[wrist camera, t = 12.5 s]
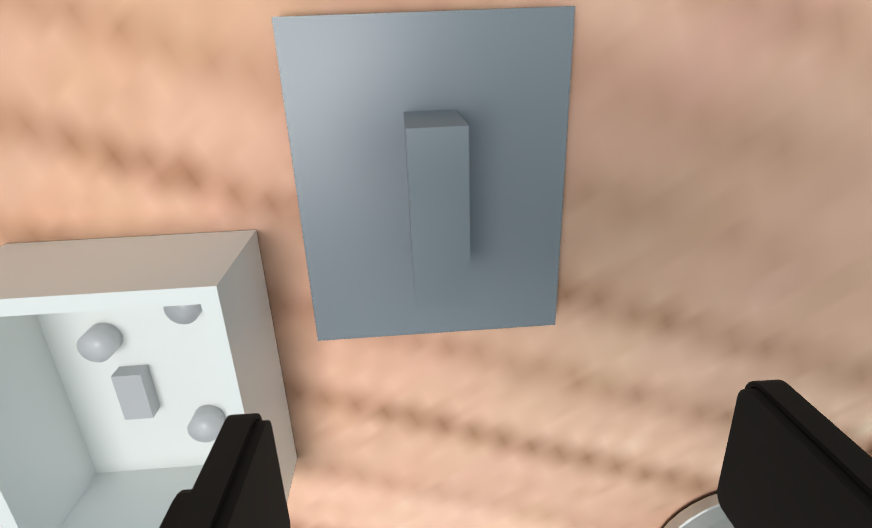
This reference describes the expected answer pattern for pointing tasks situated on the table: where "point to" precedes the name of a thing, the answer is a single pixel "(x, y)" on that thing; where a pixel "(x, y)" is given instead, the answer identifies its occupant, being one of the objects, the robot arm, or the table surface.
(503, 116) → the lid
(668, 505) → the table surface
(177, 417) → the tub
